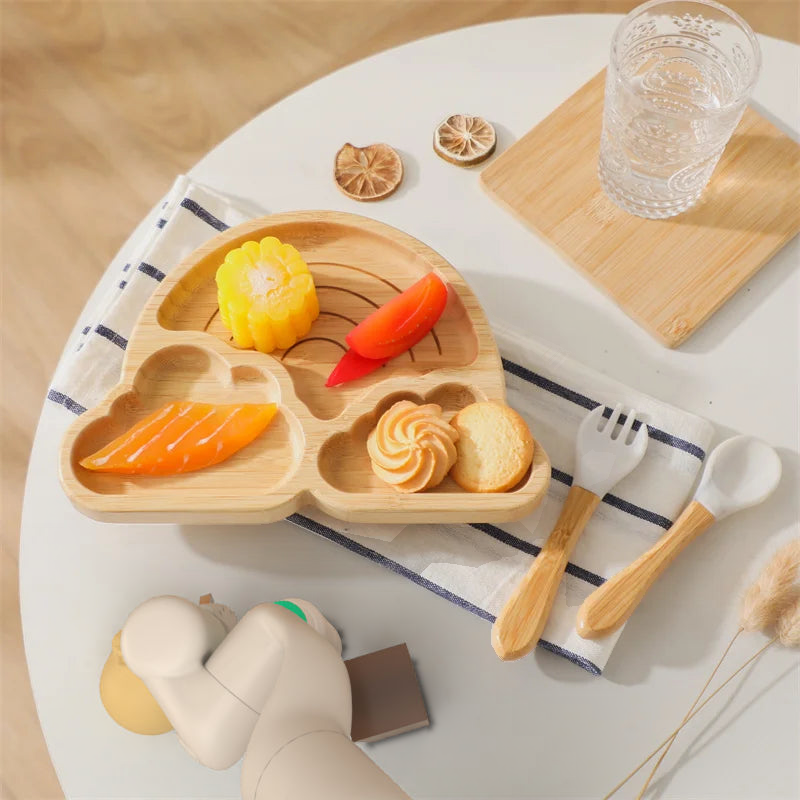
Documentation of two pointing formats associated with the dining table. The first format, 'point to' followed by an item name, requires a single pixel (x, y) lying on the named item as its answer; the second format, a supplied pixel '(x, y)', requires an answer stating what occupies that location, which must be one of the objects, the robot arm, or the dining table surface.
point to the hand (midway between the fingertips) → (232, 664)
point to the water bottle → (313, 619)
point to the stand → (384, 695)
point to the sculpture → (130, 697)
